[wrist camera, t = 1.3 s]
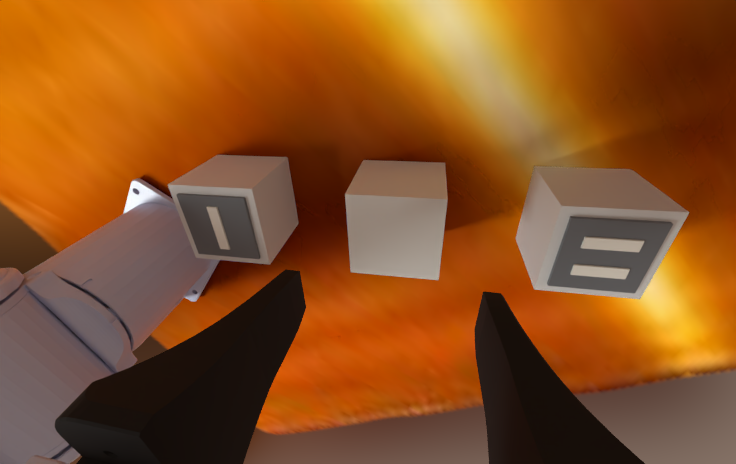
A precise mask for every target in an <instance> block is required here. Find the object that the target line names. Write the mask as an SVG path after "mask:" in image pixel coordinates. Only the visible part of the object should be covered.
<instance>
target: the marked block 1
mask: <svg viewBox="0 0 736 464" xmlns="http://www.w3.org/2000/svg"><path fill="white" fill-rule="evenodd" d="M168 187H169V190H170V192H171V195H172V198H173V200H174V203H175V205H176V208H177V210H178V213H179V216H180V218H181V221H182V223H183V226H184V228H185V231H186V233H187V236H188V239H189V241H190V244H191V246H192V249H193V251H194V254H195V257H196V258H204V259H215V260H226V261H237V262H248V263H259V264H271V262H272V261H273V260H274V258H275V257H276V255H277V254H278V252H279V251H280V250H281V248H282V247H283V245H284V244H285V242H286V241H287V239H288V238H289V237H290V235H291V234H292V232H293V231H294V229H295V228H296V226H297V225H298V224H299V222H298V216H297V210H296V204H295V198H294V192H293V186H292V180H291V174H290V168H289V162H288V157H269V156H239V155H217V156H215V157H213V158H211V159H210V160H208V161H206V162H205V163H203V164H201V165H200V166H198V167H196V168H195V169H193V170H191V171H190V172H188V173H186V174H184V175H183V176H181V177H179V178H178V179H176V180H174V181H173V182H171V183H169V184H168Z"/></svg>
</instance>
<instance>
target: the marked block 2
mask: <svg viewBox="0 0 736 464" xmlns="http://www.w3.org/2000/svg"><path fill="white" fill-rule="evenodd" d="M689 213H690V212H688V211H687V210H686V209H684V208H683V207H682V206H680V205H679V204H678V203H676V202H675V201H674V200H672V199H671V198H669V197H668V196H667V195H665V194H664V193H663V192H661V191H660V190H659V189H657V188H656V187H655V186H653V185H652V184H651V183H649V182H648V181H647V180H645V179H644V178H643V177H641V176H640V175H639V174H637V173H636V172H635V171H633V170H632V169H611V168H580V167H549V166H534V169H533V172H532V176H531V180H530V184H529V188H528V192H527V196H526V200H525V204H524V208H523V212H522V215H521V219H520V223H519V227H518V231H517V235H516V241H517V244H518V247H519V249H520V252H521V255H522V257H523V260H524V263H525V266H526V268H527V271H528V274H529V276H530V279H531V282H532V285H533V287H534V289H535V290H546V291H557V292H568V293H579V294H590V295H601V296H612V297H622V298H633V299H640V298H641V296H642V295H643V293H644V291H645V289H646V288H647V286H648V284H649V282H650V281H651V279H652V277H653V275H654V274H655V272H656V270H657V268H658V267H659V265H660V263H661V261H662V260H663V258H664V256H665V254H666V253H667V251H668V249H669V248H670V246H671V244H672V242H673V241H674V239H675V237H676V235H677V234H678V232H679V230H680V228H681V227H682V225H683V223H684V221H685V220H686V218H687V216H688V214H689Z"/></svg>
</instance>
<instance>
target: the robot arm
mask: <svg viewBox="0 0 736 464" xmlns="http://www.w3.org/2000/svg"><path fill="white" fill-rule="evenodd" d="M137 189H138V190H139V191H138V190H137ZM219 261H220V260H215V259H204V258H196V257H195V254H194V251H193V249H192V246H191V244H190V241H189V239H188V236H187V233H186V231H185V228H184V226H183V223H182V221H181V218H180V216H179V213H178V210H177V208H176V205H175V203H174V200H173V199H172V198H170V197H169V196H167V195H166V194H164V193H162V192H161V191H159V190H158V189H156V188H155V187H153V186H151V185H150V184H148V183H147V182H145V181H143V180H142V179H139V178H137V179H135V180H133V181H132V182H131V186H130V190H129V194H128V197H127V201H126V205H125V209H124V213H123V214H122V215H121V216H119V217H117V218H116V219H114V220H112V221H111V222H109V223H108V224H106V225H104V226H103V227H101V228H99V229H98V230H96V231H94V232H93V233H91V234H89V235H88V236H86V237H84V238H83V239H81V240H79V241H78V242H76V243H74V244H73V245H71V246H69V247H68V248H66V249H65V250H63V251H61V252H60V253H58V254H56V255H55V256H53V257H51V258H50V259H48V260H46V261H45V262H43V263H41V264H40V265H38V266H36V267H35V268H33V269H31V270H30V271H28V272H26V273H25V274H21V273H20V272H19V271H18V270H17V269H15V268H0V464H69V463H71V462H72V461H74V460H75V459H77V458H78V457H79V456H80V455H81V456H82V458H81V459H80V460H79V461H78V463H77V464H243V462H244V459H245V456H246V453H247V449H248V447H249V444H250V441H251V438H252V435H253V432H254V429H255V427H256V424H257V421H258V418H259V415H260V413H261V410H262V407H263V405H264V402H265V399H266V397H267V394H268V392H269V389H270V387H271V385H272V382H273V380H274V378H275V376H276V374H277V372H278V370H279V368H280V366H281V364H282V362H283V360H284V358H285V356H286V354H287V352H288V350H289V348H290V346H291V344H292V342H293V340H294V338H295V336H296V333H297V331H298V329H299V326H300V323H301V321H302V318H303V315H304V312H305V309H306V305H305V299H304V293H303V288H302V282H301V276H300V271H294V270H285V271H283V272H282V273H281V274H279V275H278V276H277V277H276V278H275V279H273V280H272V281H271V282H270V283H268V284H267V285H266V286H265V287H263V288H262V289H261V290H260V291H258V292H257V293H256V294H255V295H253V296H252V297H251V298H250V299H248V300H247V301H246V302H244V303H243V304H242V305H240V306H239V307H237V308H236V309H235V310H233V311H232V312H231V313H229V314H228V315H226V316H225V317H224V318H222V319H221V320H219V321H218V322H216V323H215V324H213V325H211V326H210V327H208V328H207V329H205V330H203V331H202V332H200V333H198V334H197V335H195V336H193V337H191V338H189V339H188V340H186V341H184V342H182V343H180V344H178V345H176V346H174V347H173V348H171V349H169V350H167V351H165V352H163V353H161V354H159V355H157V356H154V357H152V358H150V359H148V360H146V361H144V362H141V363H139V364H137V365H134V364H135V362H137V358H136V357H135V356H134V355H133V353H132V351H133V350H135V349H136V348H137V347H139V346H140V345H141V344H142V343H143V342H144V341H145V339H146V338H147V337H148V336H149V335H150V334H151V333H152V332H153V331H154V330H155V329H156V328H157V327H158V325H159V324H160V323H161V322H162V321H163V320H164V319H165V318H166V317H167V316H168V315H169V314H170V312H171V311H172V310H173V309H174V308H175V307H176V306H177V305H178V304H179V303H180V302H181V301H182V299H183V298H184V297H185V298H187V299H188V300H190V301H193V302H194V301H197V300H198V298H199V297H200V295H201V293H202V291H203V290H204V288H205V286H206V284H207V282H208V281H209V279H210V277H211V275H212V274H213V272H214V270H215V268H216V266H217V265H218V263H219ZM475 350H476V360H477V367H478V373H479V379H480V385H481V392H482V398H483V404H484V410H485V417H486V425H487V434H488V435H487V437H488V450H489V451H488V452H489V464H645V463H644V462H643V461H641V460H640V459H639V458H638V457H637V456H636V455H635V454H634V453H632V452H631V451H630V450H629V449H628V448H627V447H626V446H624V444H622V443H621V442H620V441H619V440H618V439H617V438H616V437H615V436H614V435H613V434H611V432H610V431H609V430H608V429H607V428H605V426H603V424H602V423H600V422H599V421H598V420H597V419H596V417H594V416H593V415H592V414H591V413H590V412H589V411H588V410H587V409H586V408H585V406H584V405H583V404H582V403H581V402H580V401H579V400H578V399H577V398H576V397H575V396H574V395H573V393H572V392H571V391H570V390H569V389H568V388H567V387H566V385H565V384H564V383H563V382H562V381H561V380H560V378H559V377H558V376H557V375H556V374H555V372H554V371H553V370H552V369H551V367H550V366H549V365H548V363H547V362H546V361H545V360H544V358H543V357H542V356H541V354H540V353H539V352H538V350H537V349H536V347H535V346H534V345H533V343H532V342H531V340H530V339H529V337H528V336H527V334H526V333H525V331H524V330H523V328H522V327H521V325H520V324H519V322H518V321H517V319H516V317H515V316H514V314H513V312H512V311H511V309H510V307H509V306H508V304H507V302H506V300H505V299H504V297H503V296H502V294H501V293H492V292H483V295H482V300H481V304H480V308H479V313H478V317H477V321H476V326H475ZM133 365H134V366H133Z"/></svg>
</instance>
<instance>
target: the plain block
mask: <svg viewBox="0 0 736 464" xmlns="http://www.w3.org/2000/svg"><path fill="white" fill-rule="evenodd" d="M447 201H448V197H447V182H446V167H445V163H440V162H410V161H380V160H363V161H362V163H361V165H360V167H359V169H358V171H357V173H356V174H355V176H354V178H353V180H352V182H351V184H350V186H349V188H348V189H347V191H346V193H345V202H346V216H347V229H348V242H349V256H350V269H351V272H354V273H365V274H376V275H387V276H398V277H409V278H420V279H431V280H439V271H440V262H441V254H442V245H443V236H444V227H445V219H446V210H447Z"/></svg>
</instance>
